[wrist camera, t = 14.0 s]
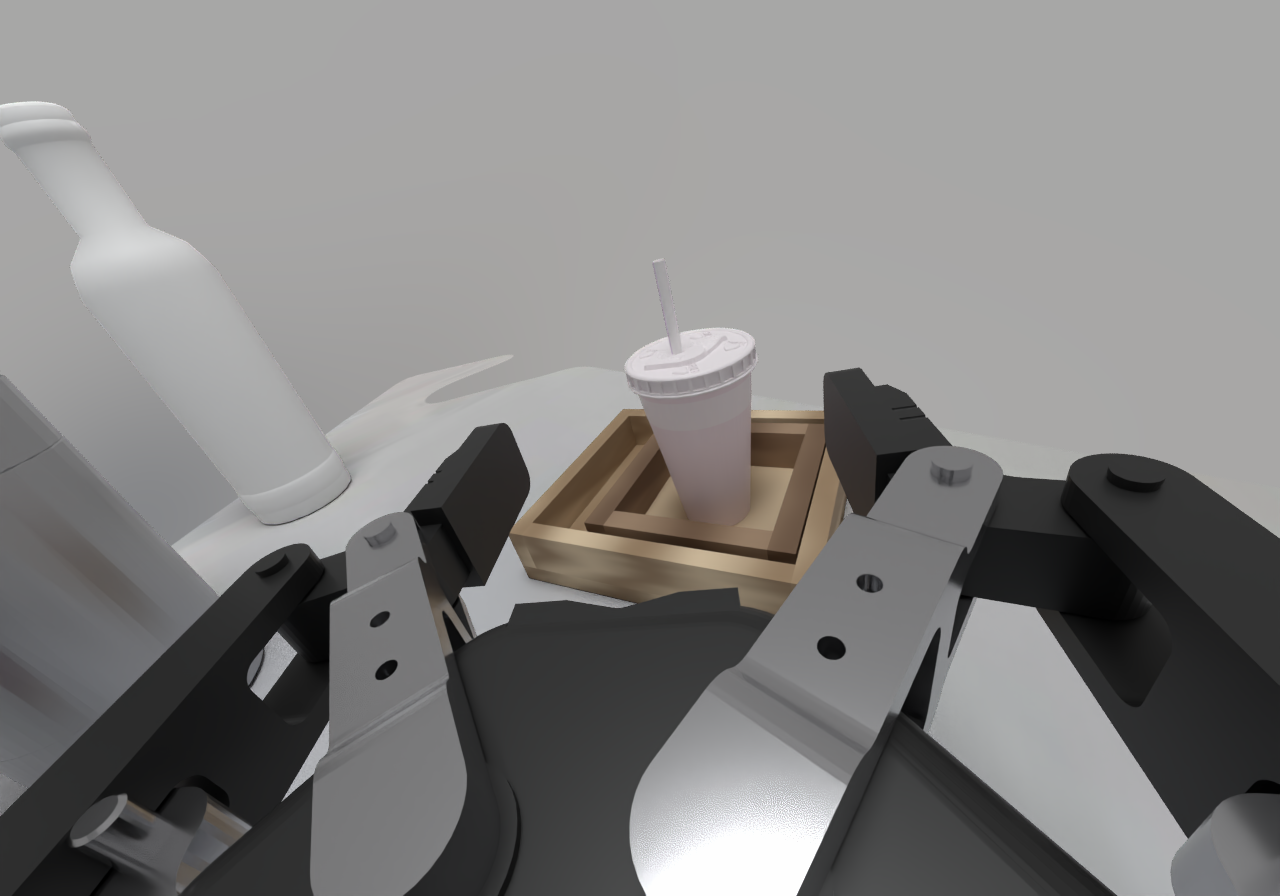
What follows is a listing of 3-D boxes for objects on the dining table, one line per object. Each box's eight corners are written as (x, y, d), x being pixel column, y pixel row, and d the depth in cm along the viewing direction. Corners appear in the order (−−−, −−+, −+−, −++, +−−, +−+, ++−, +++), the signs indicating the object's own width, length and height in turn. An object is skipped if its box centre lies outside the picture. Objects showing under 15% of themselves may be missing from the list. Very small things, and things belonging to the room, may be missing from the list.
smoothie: (645, 506, 29) (578, 274, 22) (730, 463, 31) (692, 236, 24) (702, 565, 24) (637, 284, 17) (800, 509, 26) (778, 235, 19)
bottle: (357, 463, 48) (134, 109, 33) (348, 500, 41) (65, 79, 26) (271, 495, 46) (-7, 134, 31) (248, 539, 39) (-120, 108, 24)
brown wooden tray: (529, 577, 27) (507, 532, 26) (633, 448, 38) (623, 409, 36) (821, 645, 20) (817, 587, 18) (853, 459, 30) (853, 411, 28)
